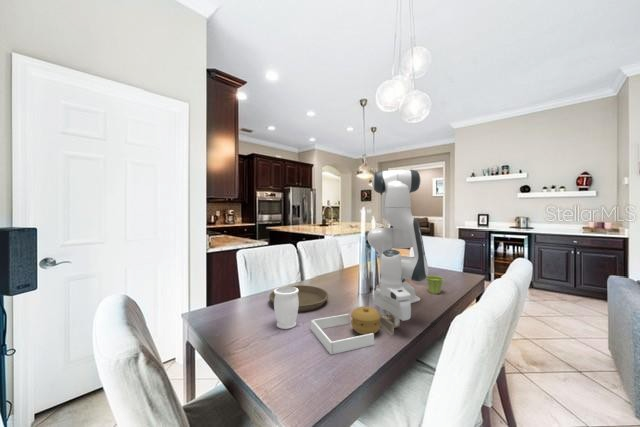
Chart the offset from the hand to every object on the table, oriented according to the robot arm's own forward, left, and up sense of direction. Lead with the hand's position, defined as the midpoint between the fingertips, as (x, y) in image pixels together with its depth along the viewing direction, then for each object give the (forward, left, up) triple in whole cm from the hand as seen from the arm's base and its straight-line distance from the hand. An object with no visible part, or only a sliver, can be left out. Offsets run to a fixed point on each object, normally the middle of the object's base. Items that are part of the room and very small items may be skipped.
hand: (390, 322), depth 110 cm
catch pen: (+23, 0, -2) cm, 23 cm away
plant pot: (-51, -27, -2) cm, 58 cm away
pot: (+12, 0, -2) cm, 12 cm away
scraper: (0, 0, -2) cm, 2 cm away
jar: (+40, -18, -2) cm, 44 cm away
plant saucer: (+27, -42, -2) cm, 50 cm away
